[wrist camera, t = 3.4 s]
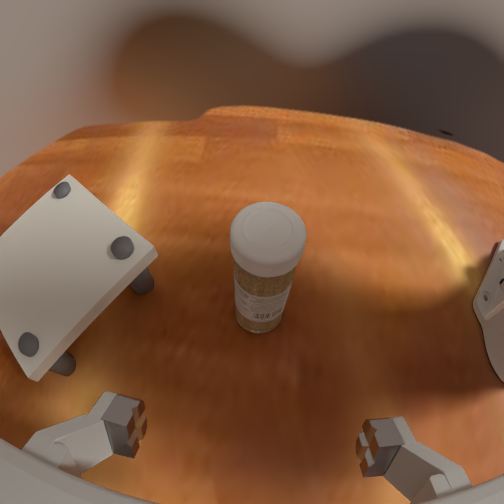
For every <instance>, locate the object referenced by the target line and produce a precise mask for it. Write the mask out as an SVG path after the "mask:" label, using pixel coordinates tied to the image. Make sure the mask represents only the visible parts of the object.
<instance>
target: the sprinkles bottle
mask: <svg viewBox="0 0 504 504" xmlns="http://www.w3.org/2000/svg"><path fill="white" fill-rule="evenodd" d="M305 242H306V228H305V225H304V223H303V221H302V219H301V218H300V216H299V215H298V214H297V213H296V212H295V211H293V210H292V209H290V208H289V207H287V206H285V205H282V204H279V203H275V202H258V203H254V204H251V205H249V206H247V207H245V208H244V209H242V210H241V211H240V212H239V213H238V214H237V215H236V216H235V218H234V219H233V221H232V224H231V228H230V248H231V253H232V255H233V257H234V287H235V303H236V307H235V315H236V319H237V321H238V323H239V325H241V326H242V327H243V328H244V329H245V330H247V331H249V332H252V333H256V334H257V333H258V334H261V333H267V332H269V331H271V330H273V329H274V328H275V327H276V326H277V325H278V324H279V323H280V321H281V318H282V314H283V310H284V307H285V304H286V301H287V298H288V295H289V292H290V288H291V285H292V280H293V275H294V272H295V268H296V265H297V264H298V262H299V261H300V259H301V257H302V254H303V250H304V246H305Z"/></svg>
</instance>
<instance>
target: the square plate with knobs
mask: <svg viewBox="0 0 504 504" xmlns="http://www.w3.org/2000/svg"><path fill="white" fill-rule="evenodd" d="M157 257H158V254H157V251H156V249H155V247H154V246H153V245H152V244H151V243H150V242H148V241H147V240H146V239H145V238H143V237H142V236H141V235H140V234H139V233H137V232H136V231H135V230H134V229H133V228H131V227H130V226H129V225H128V224H126V223H125V222H124V221H123V220H122V219H121V218H119V217H118V216H117V215H116V214H115V213H113V212H112V211H111V210H110V209H109V208H108V207H106V206H105V205H104V204H103V203H102V202H101V201H99V200H98V199H97V198H96V197H95V196H94V195H92V194H91V193H90V192H89V191H88V190H87V189H86V188H84V187H83V186H82V185H81V184H80V183H79V182H78V181H77V180H75V179H74V178H73V177H72V176H71V175H70V174H69V175H68V176H66V177H65V178H64V179H63V180H61V181H60V182H59V183H58V184H57V185H55V186H54V187H53V188H52V189H51V190H50V191H48V192H47V193H46V194H45V195H44V196H43V197H42V198H40V199H39V200H38V201H37V202H36V203H35V204H34V205H33V206H32V207H30V208H29V209H28V210H27V211H26V212H25V213H24V214H23V215H22V216H21V217H20V218H19V219H18V220H17V221H16V222H15V223H14V224H13V225H12V226H11V227H10V228H9V229H8V230H7V231H6V232H5V233H4V234H3V235H2V236H1V237H0V330H1V332H2V334H3V336H4V338H5V340H6V342H7V343H8V345H9V347H10V349H11V351H12V352H13V354H14V356H15V358H16V359H17V361H18V363H19V364H20V366H21V368H22V369H23V371H24V372H25V374H26V376H27V377H28V378H29V379H32V380H34V381H37V382H38V381H39V380H40V379H41V378H42V377H43V375H44V374H45V373H46V372H47V371H48V370H49V369H50V370H52V371H54V372H56V373H59V374H61V375H63V376H69V375H71V374H72V373H73V372H74V370H75V367H76V362H75V359H74V357H73V356H72V355H70V354H69V353H67V352H65V351H66V350H67V349H68V347H69V346H70V345H71V344H72V343H73V342H74V341H75V340H76V339H77V338H78V337H79V336H80V334H81V333H82V332H83V331H84V330H85V329H86V328H87V327H88V326H89V325H90V324H91V323H92V322H93V321H94V320H95V319H96V318H97V317H98V315H99V314H100V313H101V312H102V311H103V310H104V309H105V308H106V307H107V306H108V305H109V304H110V303H111V302H112V301H113V300H114V299H115V298H116V297H117V296H118V295H119V294H120V293H121V292H122V291H123V290H124V289H125V288H126V287H127V286H128V285H129V284H130V286H131V287H132V289H133V290H134V292H136V293H137V294H141V295H143V294H147V293H148V292H150V291H151V290H152V288H153V286H154V280H153V278H152V276H151V274H150V272H149V270H148V268H147V266H148V265H149V264H150V263H151V262H152V261H153V260H155V259H156V258H157Z"/></svg>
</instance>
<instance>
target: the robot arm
mask: <svg viewBox="0 0 504 504" xmlns="http://www.w3.org/2000/svg"><path fill="white" fill-rule="evenodd" d="M473 308H474V311H475V314H476V316H477V318H478V320H479V322H480V324H481V326H482V329H483V334H484V340H485V345H486V349H487V353H488V356H489V359H490V362H491V364H492V366H493V368H494V370H495V372H496V373H497V375H498V376H499V378H500V379H501V380H502V381H503V382H504V239H503V240H502V241H500V242H499V244H498V246H497V249H496V251H495V254H494V256H493V258H492V261H491V263H490V265H489V268H488V270H487V272H486V275H485V277H484V279H483V281H482V283H481V285H480V288H479V290H478V292H477V294H476V296H475V298H474V300H473ZM144 410H145V404H144V401H143V400H140V399H136V398H132V397H128V396H125V395H121V394H116V393H113V392H110V391H105V392H104V393H103V394H102V396H101V397H100V398H99V400H98V401H97V402H96V404H95V405H94V407H93V408H92V409H91V411H90V412H89V413H88V415H85V414H83V415H80V416H78V417H75V418H73V419H70V420H67V421H65V422H62V423H59V424H56V425H54V426H51V427H48V428H45V429H42V430H39V431H36V432H35V434H34V435H33V436H32V437H31V438H30V440H29V441H28V442H27V443H26V445H25V446H24V447H23V448H22V450H20V449H18V448H17V447H15V446H13V445H11V444H10V443H8V442H6V441H5V440H3V439H1V438H0V504H159V503H155V502H151V501H147V500H143V499H140V498H136V497H133V496H129V495H126V494H123V493H119V492H116V491H113V490H110V489H107V488H104V487H102V486H99V485H96V484H93V483H91V482H88V481H86V480H83V478H82V476H81V474H82V473H83V472H85V471H87V470H88V469H90V468H92V467H93V466H95V465H97V464H98V463H100V462H101V461H103V460H105V459H106V458H108V457H109V456H111V455H113V453H115V454H119V455H122V456H126V457H130V458H135V456H136V453H137V451H138V449H139V447H140V446H139V441H140V440H142V439H143V438H144V436H145V433H146V429H147V417H146V415H145V414H144V413H143V412H144ZM362 428H363V432H362V433H360V434H359V435H358V438H357V440H356V454H357V457H358V458H359V459H361V460H362V461H361V463H360V468H361V472H362V475H363V477H374V476H383V477H384V478H385V479H387V480H388V481H389V482H390V483H391V484H392V485H393V486H394V487H395V488H396V489H397V490H399V491H400V492H401V493H402V494H403V495H404V496H405V497H406V498H407V499H409V500H410V501H411V503H410V504H504V474H502V475H500V476H498V477H495V478H493V479H491V480H488V481H486V482H483V483H481V484H478V485H476V486H472V484H471V482H470V481H469V479H468V477H467V475H466V473H465V472H464V470H463V468H462V467H461V466H459V465H458V464H456V463H454V462H452V461H451V460H449V459H447V458H445V457H444V456H442V455H440V454H439V453H437V452H435V451H433V450H432V449H430V448H428V447H427V446H425V445H423V444H422V443H417V442H416V440H415V438H414V436H413V434H412V432H411V430H410V429H409V427H408V425H407V423H406V421H405V419H404V418H403V417H402V416H399V417H390V418H379V419H366V420H365V421H364V423H363V426H362Z"/></svg>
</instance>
